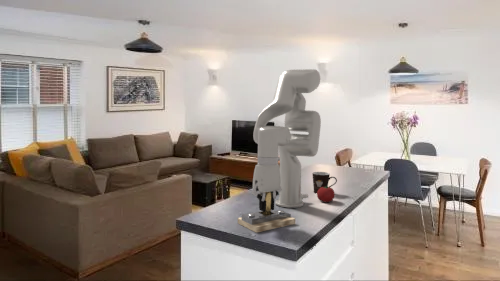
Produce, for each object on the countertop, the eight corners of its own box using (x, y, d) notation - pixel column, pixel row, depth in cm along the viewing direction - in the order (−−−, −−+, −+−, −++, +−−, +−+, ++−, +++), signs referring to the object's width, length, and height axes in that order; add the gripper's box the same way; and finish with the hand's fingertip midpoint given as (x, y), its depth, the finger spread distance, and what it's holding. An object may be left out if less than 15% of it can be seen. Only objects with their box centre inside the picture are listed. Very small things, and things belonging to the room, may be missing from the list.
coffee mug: (308, 192, 190) (308, 173, 189) (318, 189, 196) (319, 171, 195) (327, 196, 181) (327, 176, 180) (337, 194, 187) (338, 174, 186)
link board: (275, 215, 150) (275, 210, 150) (295, 223, 140) (295, 218, 140) (237, 223, 140) (237, 218, 139) (256, 232, 130) (256, 227, 130)
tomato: (314, 199, 176) (314, 184, 175) (329, 198, 178) (329, 183, 178) (323, 204, 168) (323, 188, 167) (338, 202, 171) (339, 187, 170)
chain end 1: (269, 214, 144) (269, 207, 144) (280, 219, 139) (280, 212, 139) (241, 219, 137) (241, 213, 137) (251, 224, 132) (252, 217, 132)
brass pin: (267, 216, 142) (267, 190, 141) (272, 218, 139) (273, 192, 138) (260, 217, 140) (261, 191, 139) (265, 219, 137) (266, 193, 136)
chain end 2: (279, 212, 147) (279, 208, 147) (290, 216, 142) (290, 212, 142) (253, 217, 140) (253, 213, 140) (263, 222, 135) (263, 218, 135)
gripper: (278, 158, 145) (277, 204, 147) (243, 161, 136) (242, 210, 138) (291, 161, 139) (290, 209, 141) (255, 164, 130) (254, 216, 131)
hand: (266, 209), depth 139 cm, fingers closed on brass pin, 3 cm apart
